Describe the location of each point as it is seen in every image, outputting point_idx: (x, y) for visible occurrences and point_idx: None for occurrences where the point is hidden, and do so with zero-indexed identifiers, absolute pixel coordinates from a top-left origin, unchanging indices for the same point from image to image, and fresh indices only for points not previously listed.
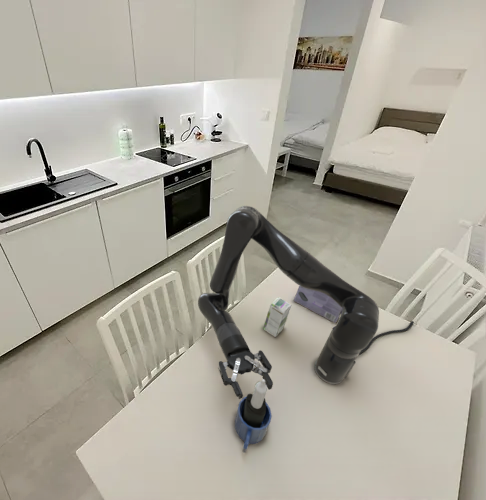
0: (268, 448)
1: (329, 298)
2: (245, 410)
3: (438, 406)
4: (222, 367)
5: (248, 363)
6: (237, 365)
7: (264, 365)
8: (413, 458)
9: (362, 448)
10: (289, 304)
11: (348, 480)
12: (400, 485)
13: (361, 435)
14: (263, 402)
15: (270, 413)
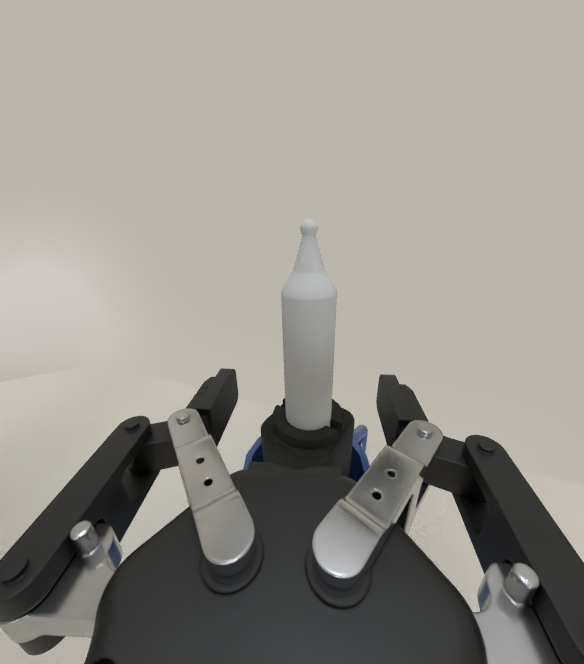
0: None
1: None
2: (351, 441)
3: None
4: (554, 559)
5: (247, 500)
6: (371, 495)
7: (127, 500)
8: (75, 389)
9: (116, 416)
10: None
11: (191, 398)
12: (136, 379)
13: (87, 429)
14: (280, 407)
15: (257, 443)
